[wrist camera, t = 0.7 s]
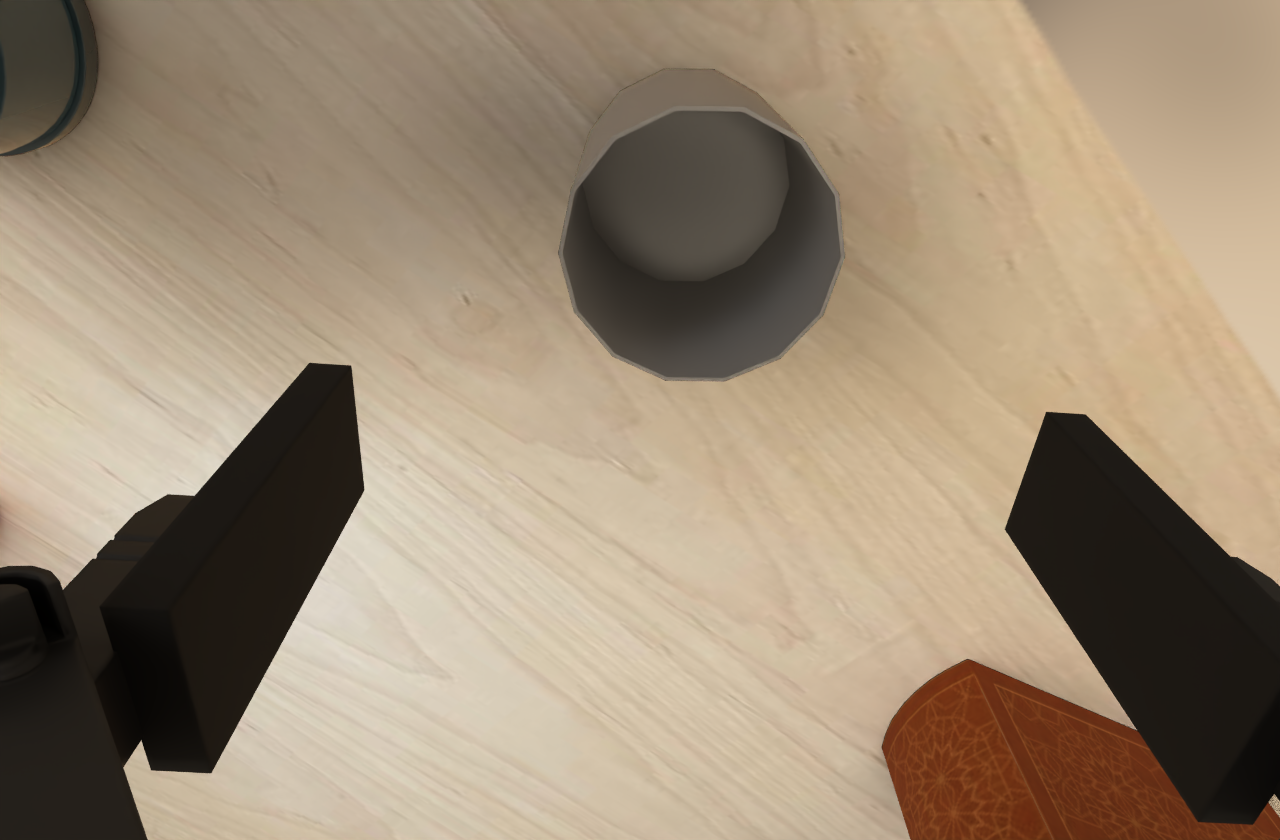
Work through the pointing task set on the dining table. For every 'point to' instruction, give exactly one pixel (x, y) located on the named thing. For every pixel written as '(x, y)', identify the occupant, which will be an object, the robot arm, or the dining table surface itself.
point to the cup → (699, 229)
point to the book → (1032, 769)
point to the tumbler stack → (44, 71)
